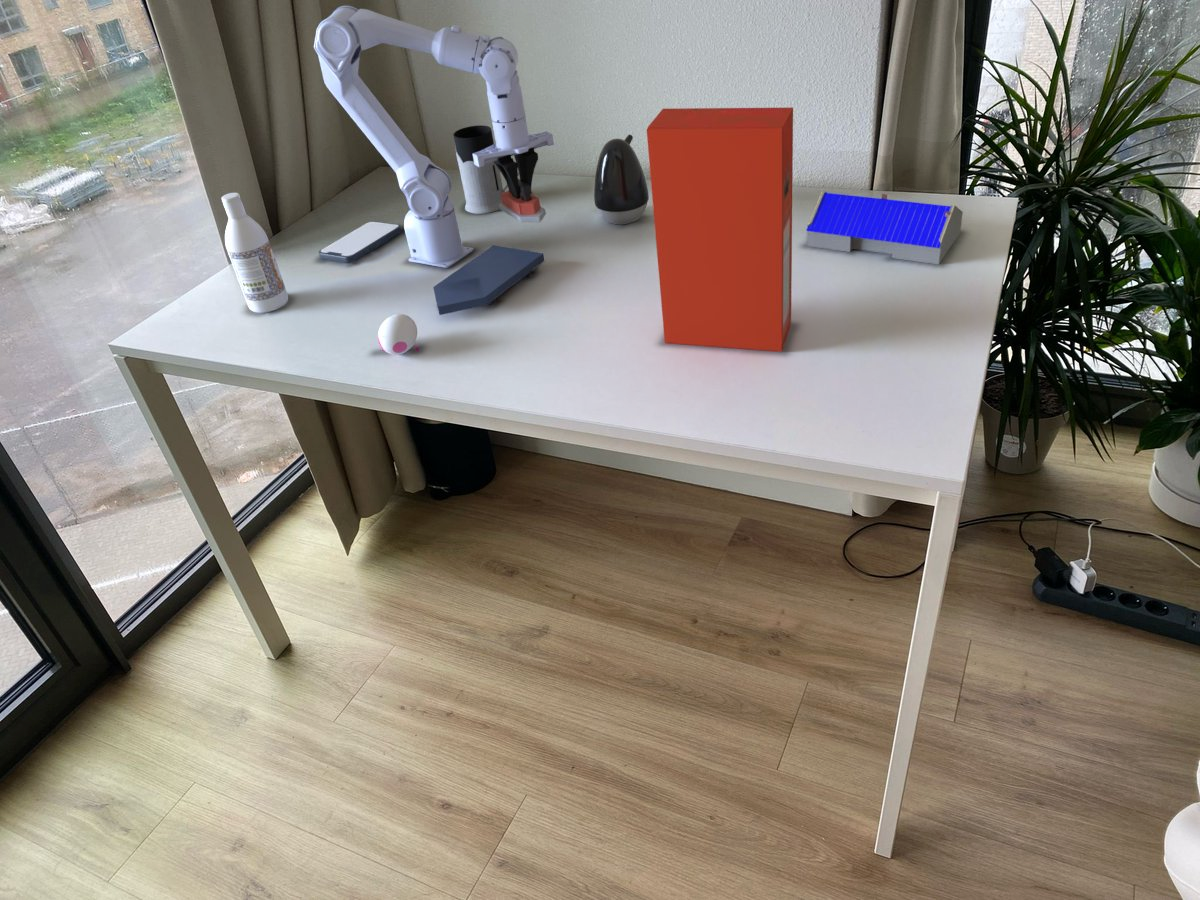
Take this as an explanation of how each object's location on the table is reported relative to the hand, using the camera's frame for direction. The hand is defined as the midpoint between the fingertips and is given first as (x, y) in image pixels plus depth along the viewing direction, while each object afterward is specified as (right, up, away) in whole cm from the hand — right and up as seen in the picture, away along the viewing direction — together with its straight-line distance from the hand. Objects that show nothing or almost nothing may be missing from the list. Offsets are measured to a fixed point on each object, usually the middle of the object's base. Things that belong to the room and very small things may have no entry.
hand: (521, 195), depth 164 cm
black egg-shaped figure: (+18, -1, +13) cm, 22 cm away
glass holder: (-7, +5, +26) cm, 27 cm away
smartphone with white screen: (-32, -5, +16) cm, 37 cm away
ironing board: (-6, -18, -6) cm, 20 cm away
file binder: (+33, -28, -27) cm, 51 cm away
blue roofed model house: (+62, -10, -7) cm, 63 cm away
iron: (0, -3, +2) cm, 3 cm away
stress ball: (-18, -30, -19) cm, 39 cm away
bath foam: (-44, -20, 0) cm, 49 cm away
